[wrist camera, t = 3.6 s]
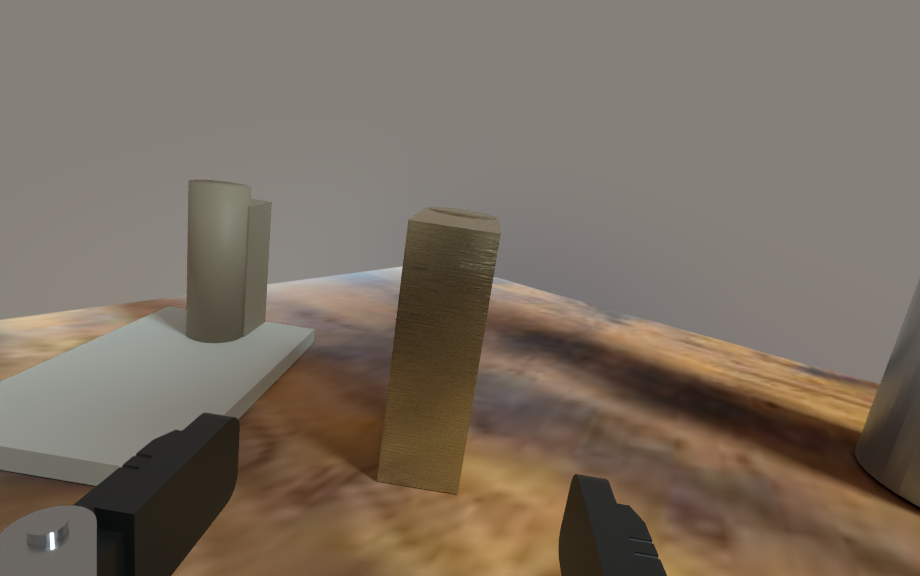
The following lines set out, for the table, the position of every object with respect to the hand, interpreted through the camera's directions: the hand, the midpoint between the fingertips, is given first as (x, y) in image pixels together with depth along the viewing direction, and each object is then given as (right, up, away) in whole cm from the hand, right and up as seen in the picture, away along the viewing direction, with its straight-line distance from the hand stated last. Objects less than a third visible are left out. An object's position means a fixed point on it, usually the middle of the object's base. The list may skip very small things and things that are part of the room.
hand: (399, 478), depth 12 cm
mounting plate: (-14, 0, +15) cm, 20 cm away
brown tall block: (0, -3, +12) cm, 12 cm away
